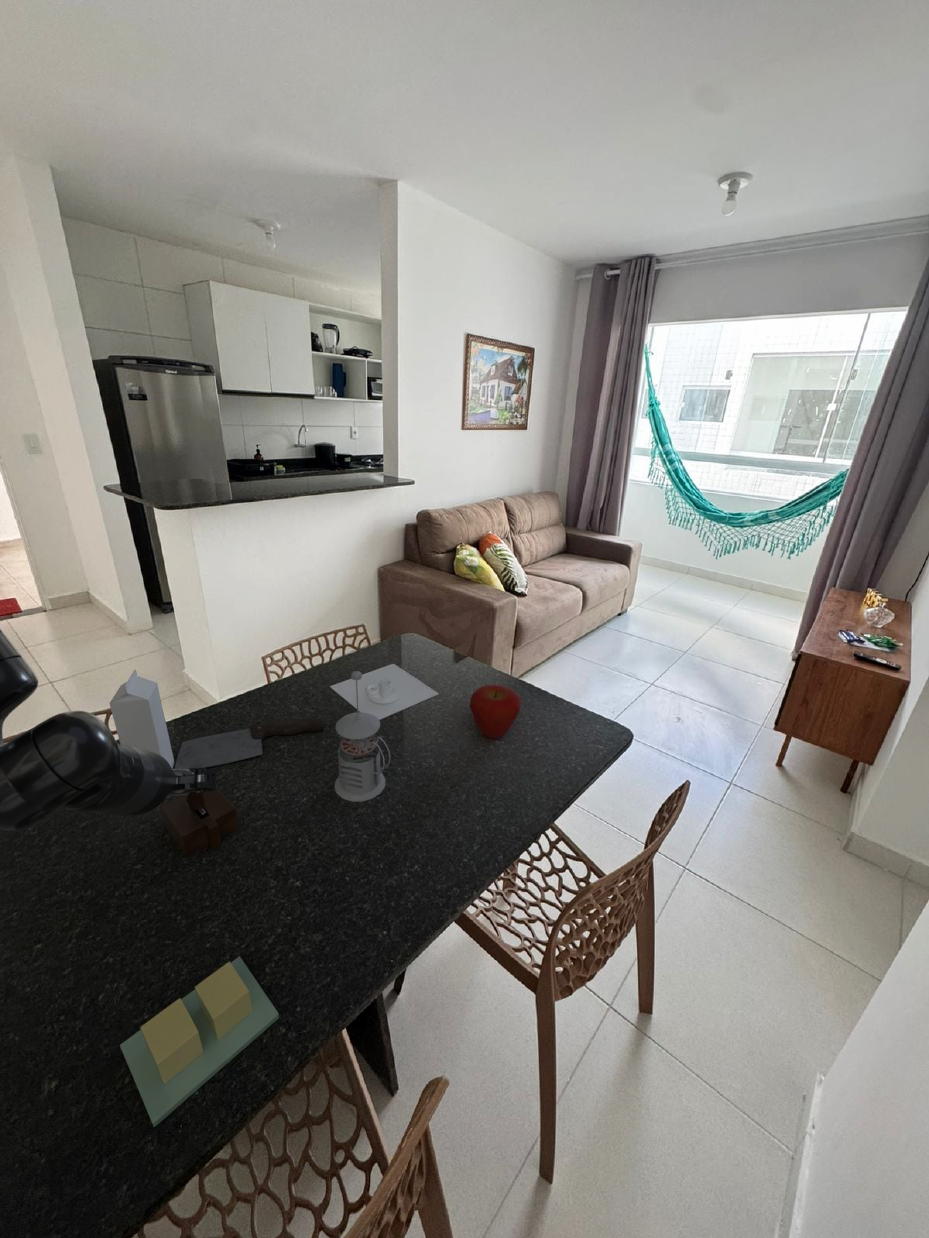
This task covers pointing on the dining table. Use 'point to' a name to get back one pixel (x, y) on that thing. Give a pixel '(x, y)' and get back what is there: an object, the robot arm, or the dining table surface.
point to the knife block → (200, 822)
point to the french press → (359, 755)
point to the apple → (494, 709)
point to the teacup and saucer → (384, 691)
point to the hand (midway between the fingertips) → (171, 788)
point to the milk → (141, 717)
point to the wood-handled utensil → (196, 800)
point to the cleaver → (238, 743)
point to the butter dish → (206, 1061)
